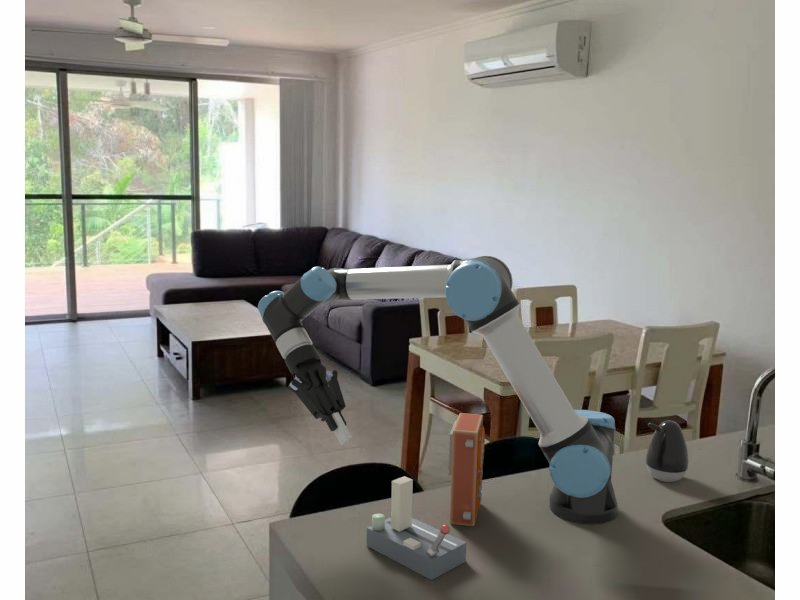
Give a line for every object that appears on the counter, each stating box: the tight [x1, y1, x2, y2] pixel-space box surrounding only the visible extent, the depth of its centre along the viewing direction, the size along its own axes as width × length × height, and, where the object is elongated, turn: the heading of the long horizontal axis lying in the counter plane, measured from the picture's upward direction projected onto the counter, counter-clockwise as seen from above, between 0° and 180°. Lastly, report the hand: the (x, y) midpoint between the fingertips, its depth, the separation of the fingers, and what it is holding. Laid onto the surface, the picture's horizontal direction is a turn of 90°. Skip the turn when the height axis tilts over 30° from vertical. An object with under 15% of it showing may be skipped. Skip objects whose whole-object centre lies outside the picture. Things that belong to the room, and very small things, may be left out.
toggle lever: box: [426, 524, 451, 557], centre depth 139 cm, size 2×2×8 cm
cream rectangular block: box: [390, 475, 414, 532], centre depth 150 cm, size 2×4×10 cm, turn 135°
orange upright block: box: [447, 412, 486, 527], centre depth 166 cm, size 21×7×15 cm
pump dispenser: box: [645, 420, 690, 483], centre depth 188 cm, size 10×10×15 cm
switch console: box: [366, 516, 467, 581], centre depth 149 cm, size 18×10×5 cm, turn 45°
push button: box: [371, 513, 386, 531], centre depth 150 cm, size 3×3×2 cm
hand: (346, 441), depth 160 cm, fingers closed
